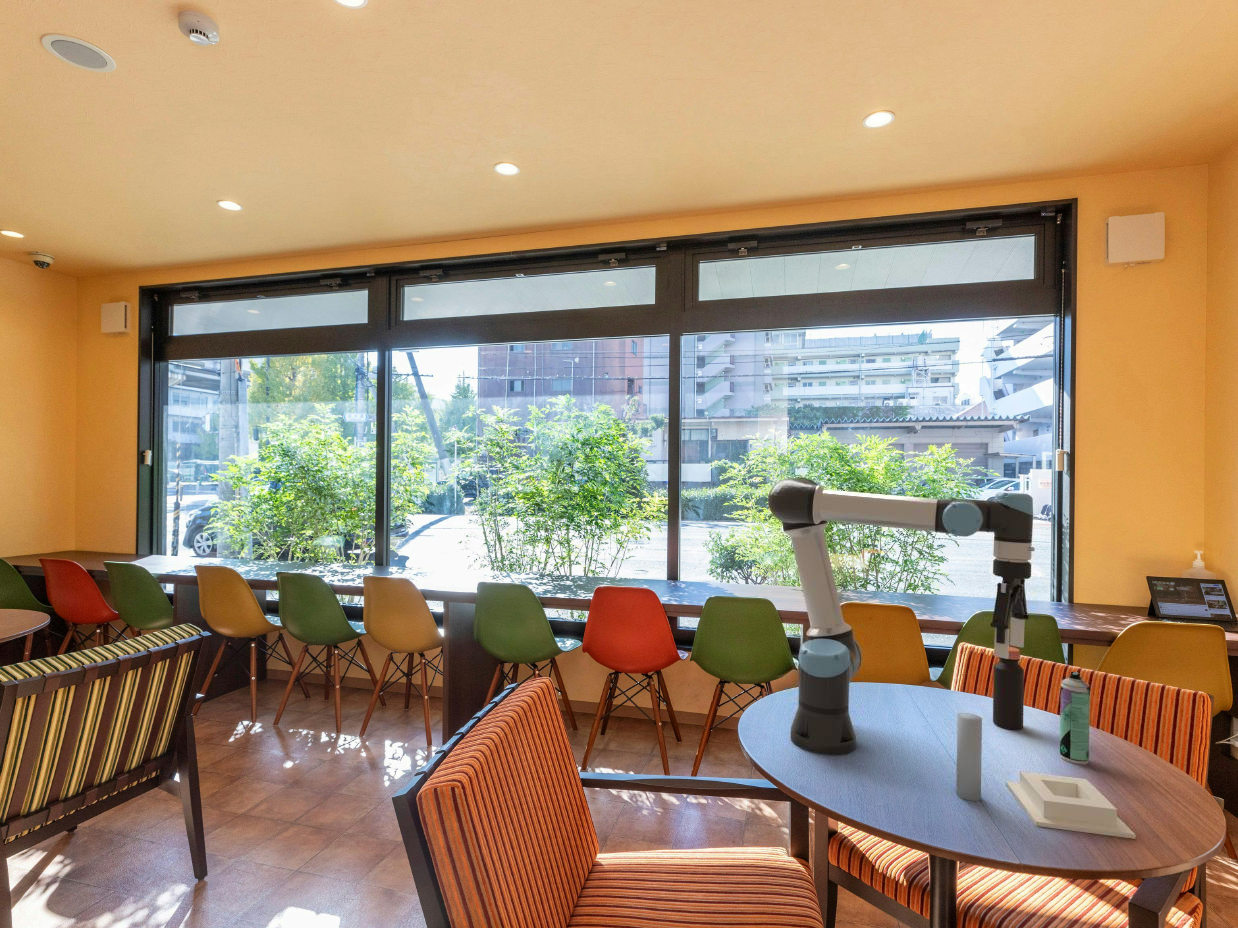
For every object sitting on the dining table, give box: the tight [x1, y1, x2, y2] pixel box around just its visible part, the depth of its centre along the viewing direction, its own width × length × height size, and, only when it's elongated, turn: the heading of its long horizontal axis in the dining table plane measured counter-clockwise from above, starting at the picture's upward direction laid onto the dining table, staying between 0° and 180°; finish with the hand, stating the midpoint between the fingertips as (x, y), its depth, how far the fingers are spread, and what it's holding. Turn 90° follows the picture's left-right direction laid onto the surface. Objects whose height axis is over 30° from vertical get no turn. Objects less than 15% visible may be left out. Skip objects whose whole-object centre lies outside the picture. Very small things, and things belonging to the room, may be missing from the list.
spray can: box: [1059, 671, 1091, 766], centre depth 148 cm, size 6×6×20 cm
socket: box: [1005, 771, 1136, 840], centre depth 125 cm, size 16×16×4 cm
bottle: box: [992, 646, 1025, 731], centre depth 167 cm, size 7×7×20 cm
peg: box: [955, 712, 983, 802], centre depth 130 cm, size 4×4×16 cm
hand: (1009, 651), depth 148 cm, fingers open, 13 cm apart
